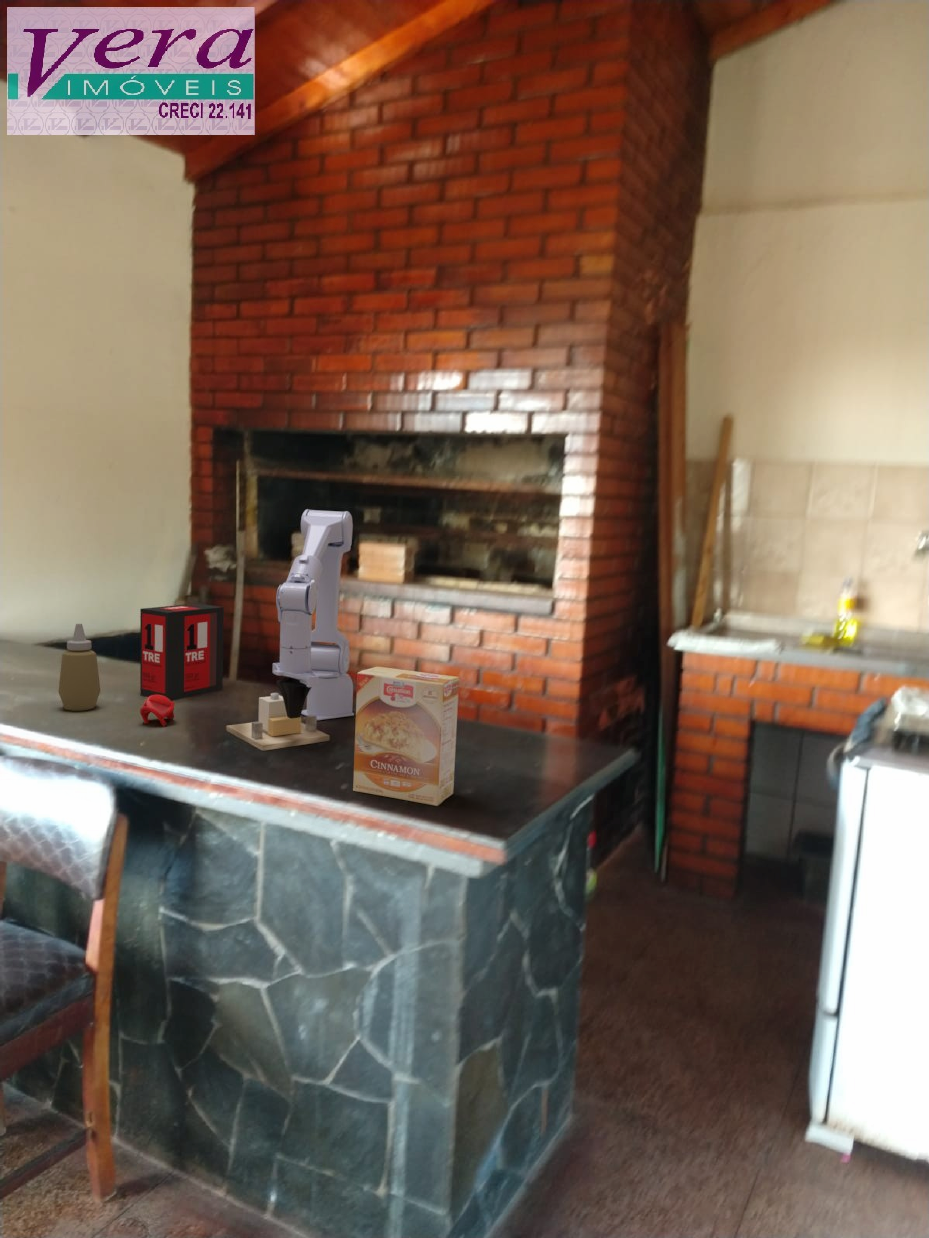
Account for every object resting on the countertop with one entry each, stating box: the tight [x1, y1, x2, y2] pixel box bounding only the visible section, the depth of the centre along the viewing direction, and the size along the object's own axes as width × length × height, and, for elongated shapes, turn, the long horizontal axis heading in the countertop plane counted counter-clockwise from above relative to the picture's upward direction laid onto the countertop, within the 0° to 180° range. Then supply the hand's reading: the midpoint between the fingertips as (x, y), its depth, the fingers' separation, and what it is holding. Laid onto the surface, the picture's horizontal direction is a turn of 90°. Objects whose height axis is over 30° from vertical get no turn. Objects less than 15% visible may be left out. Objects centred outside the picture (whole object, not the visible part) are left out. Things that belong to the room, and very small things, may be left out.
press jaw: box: [268, 716, 302, 736], centre depth 164 cm, size 6×2×3 cm, turn 129°
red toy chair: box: [139, 695, 175, 727], centre depth 171 cm, size 8×6×6 cm
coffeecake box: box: [352, 666, 460, 807], centre depth 136 cm, size 15×7×20 cm, turn 69°
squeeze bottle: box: [58, 623, 101, 712], centre depth 179 cm, size 8×8×18 cm
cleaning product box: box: [139, 603, 225, 702], centre depth 197 cm, size 16×9×20 cm, turn 150°
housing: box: [258, 692, 287, 732], centre depth 167 cm, size 4×4×7 cm
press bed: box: [225, 714, 330, 752], centre depth 166 cm, size 14×16×4 cm
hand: (293, 717), depth 161 cm, fingers closed
